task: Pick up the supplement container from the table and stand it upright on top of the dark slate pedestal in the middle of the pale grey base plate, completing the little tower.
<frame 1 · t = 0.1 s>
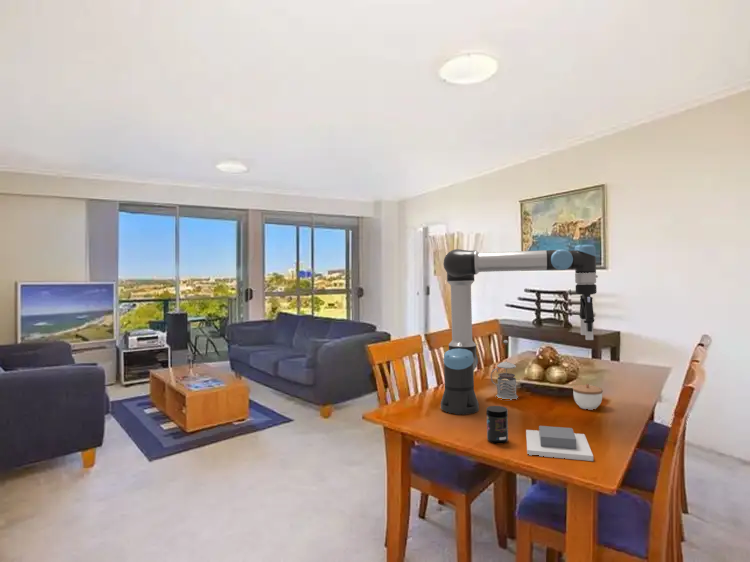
hand: (586, 337, 179), 28 cm above the table, tool pointing down, fingers open, 13 cm apart
build base: (557, 446, 140), on the table
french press: (504, 397, 197), on the table
lidded jar: (587, 408, 179), on the table
supplement container: (497, 441, 147), on the table
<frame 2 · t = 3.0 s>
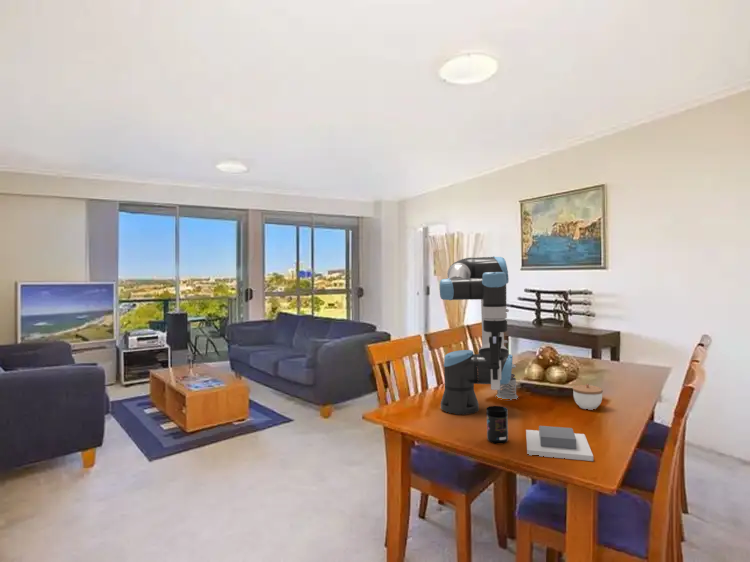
hand: (496, 384, 146), 18 cm above the table, tool pointing down, fingers open, 13 cm apart
nothing on the table moved.
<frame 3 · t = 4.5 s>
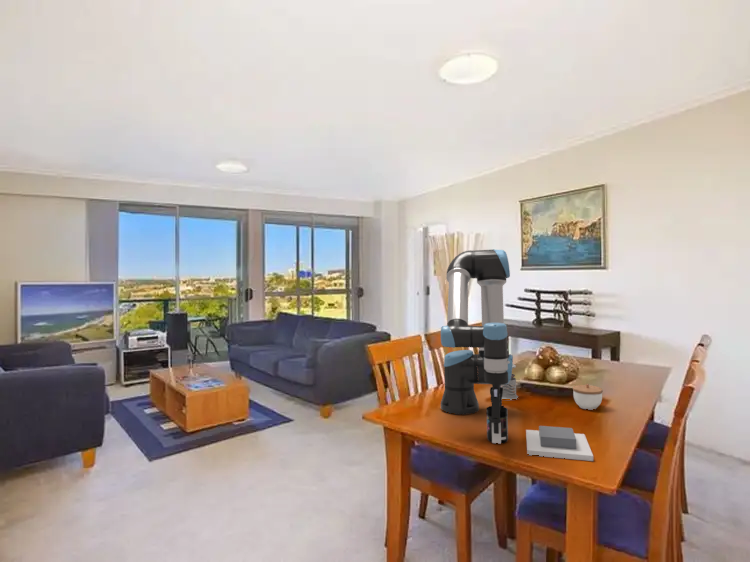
hand: (497, 435, 147), 2 cm above the table, tool pointing down, fingers open, 13 cm apart
nothing on the table moved.
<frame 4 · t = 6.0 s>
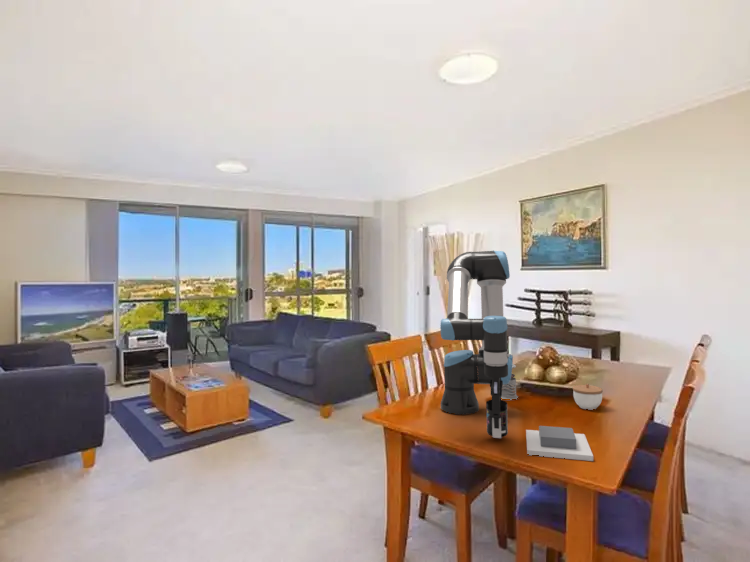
hand: (497, 432, 147), 2 cm above the table, tool pointing down, fingers closed on supplement container, 7 cm apart
supplement container: (497, 434, 147), point 2 cm above the table, touching gripper
everything else where it was.
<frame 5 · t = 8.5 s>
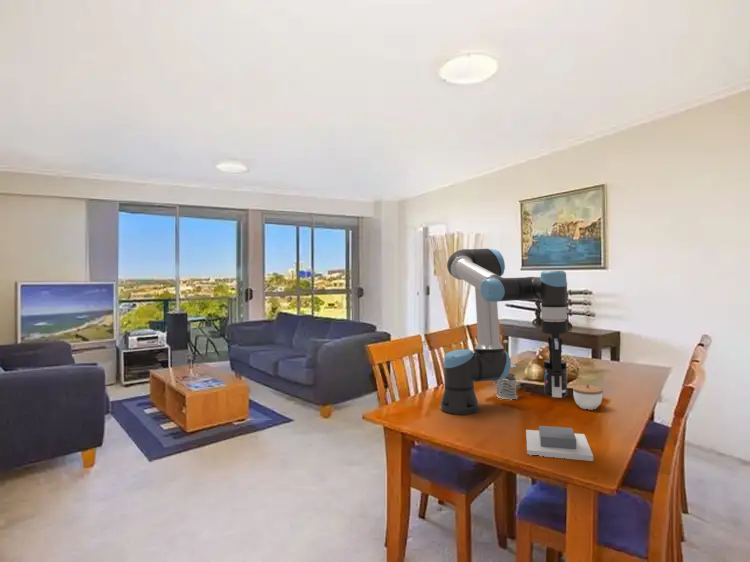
hand: (555, 393, 140), 17 cm above the table, tool pointing down, fingers closed on supplement container, 7 cm apart
supplement container: (555, 395, 140), point 16 cm above the table, touching gripper
everything else where it was.
when the fingers open (6 cm above the table, at t = 11.1 s): supplement container drops 1 cm, resting on build base.
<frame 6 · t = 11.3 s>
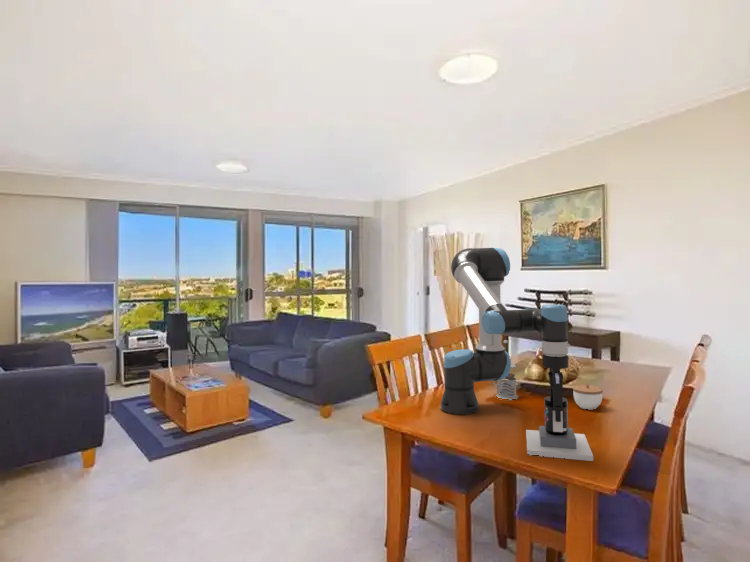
hand: (556, 426, 140), 6 cm above the table, tool pointing down, fingers open, 9 cm apart
supplement container: (556, 432, 140), point 4 cm above the table, touching build base
everything else where it was.
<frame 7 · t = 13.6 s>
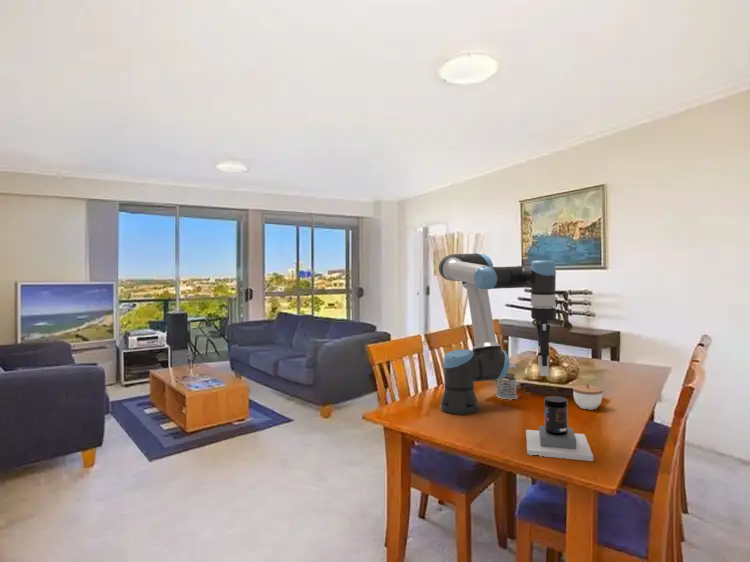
hand: (543, 370, 149), 22 cm above the table, tool pointing down, fingers open, 13 cm apart
nothing on the table moved.
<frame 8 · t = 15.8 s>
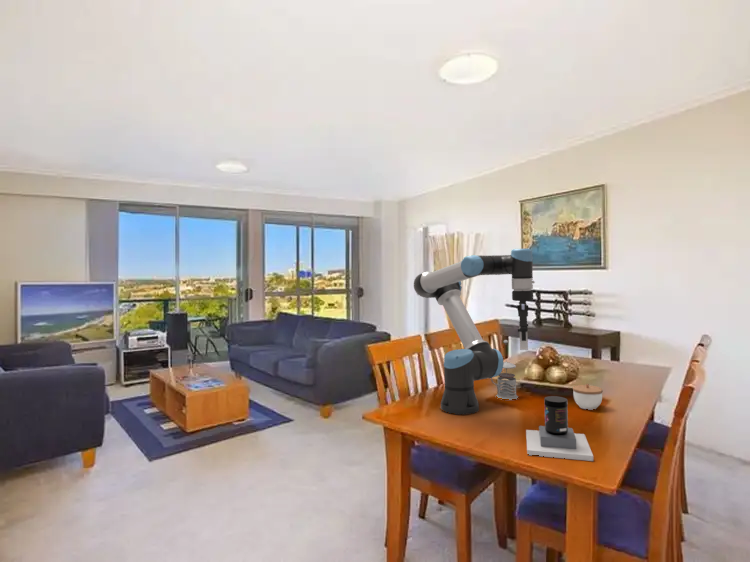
hand: (523, 346, 168), 27 cm above the table, tool pointing down, fingers open, 13 cm apart
nothing on the table moved.
at the end: supplement container inside the target area on the build base (0.1 cm from its centre), point 4.3 cm above the build base's base; supplement container tilted 0°; the gripper is holding nothing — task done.
